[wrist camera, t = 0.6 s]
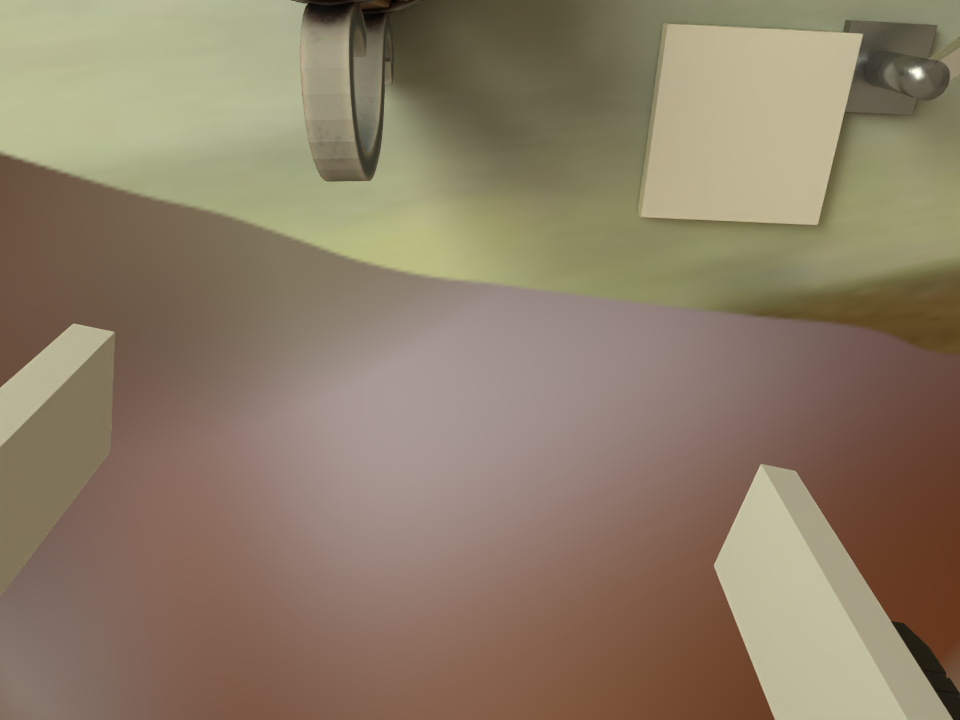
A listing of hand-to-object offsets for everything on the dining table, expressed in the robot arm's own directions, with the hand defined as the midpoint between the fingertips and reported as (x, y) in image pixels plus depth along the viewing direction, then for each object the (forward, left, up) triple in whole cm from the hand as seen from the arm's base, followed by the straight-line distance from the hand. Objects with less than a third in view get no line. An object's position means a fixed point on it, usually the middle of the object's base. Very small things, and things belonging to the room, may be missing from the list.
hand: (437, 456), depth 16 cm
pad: (-3, +14, -27) cm, 30 cm away
